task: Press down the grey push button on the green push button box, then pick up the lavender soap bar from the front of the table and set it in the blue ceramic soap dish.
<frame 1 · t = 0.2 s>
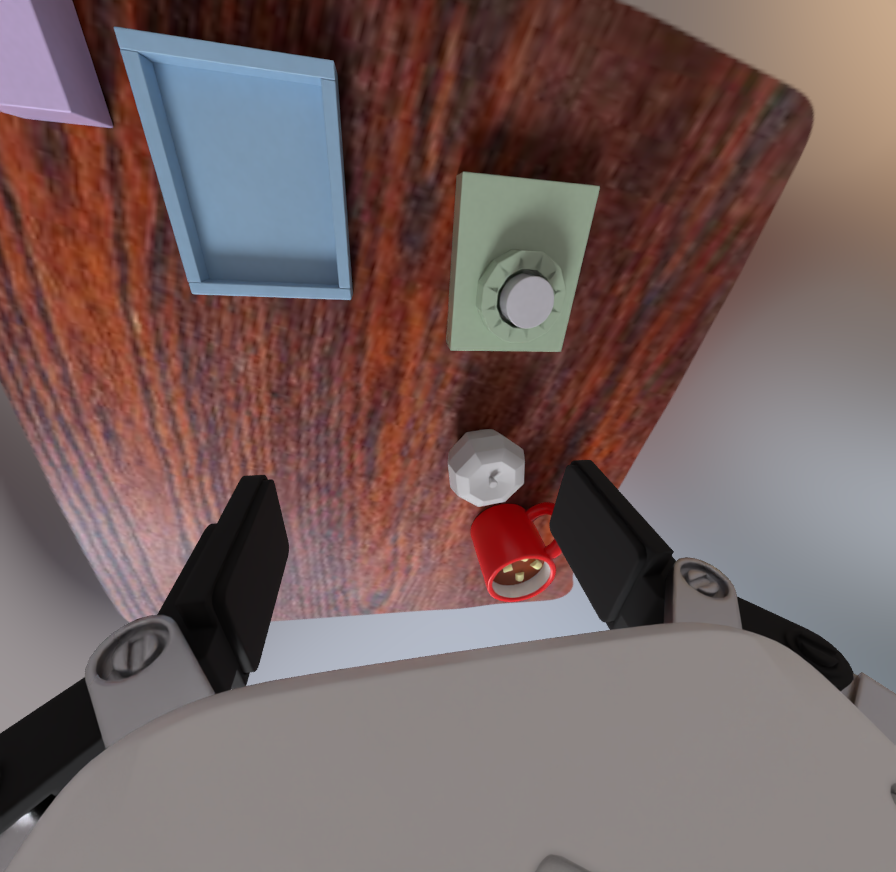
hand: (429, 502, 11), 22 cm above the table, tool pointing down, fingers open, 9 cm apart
mug: (512, 516, 44), on the table
green push button box: (510, 271, 29), on the table
soap bar: (37, 36, 18), on the table
soap dish: (264, 192, 23), on the table
apple: (475, 444, 37), on the table
grey push button: (526, 301, 26), point 4 cm above the table, slide at 0.1 cm
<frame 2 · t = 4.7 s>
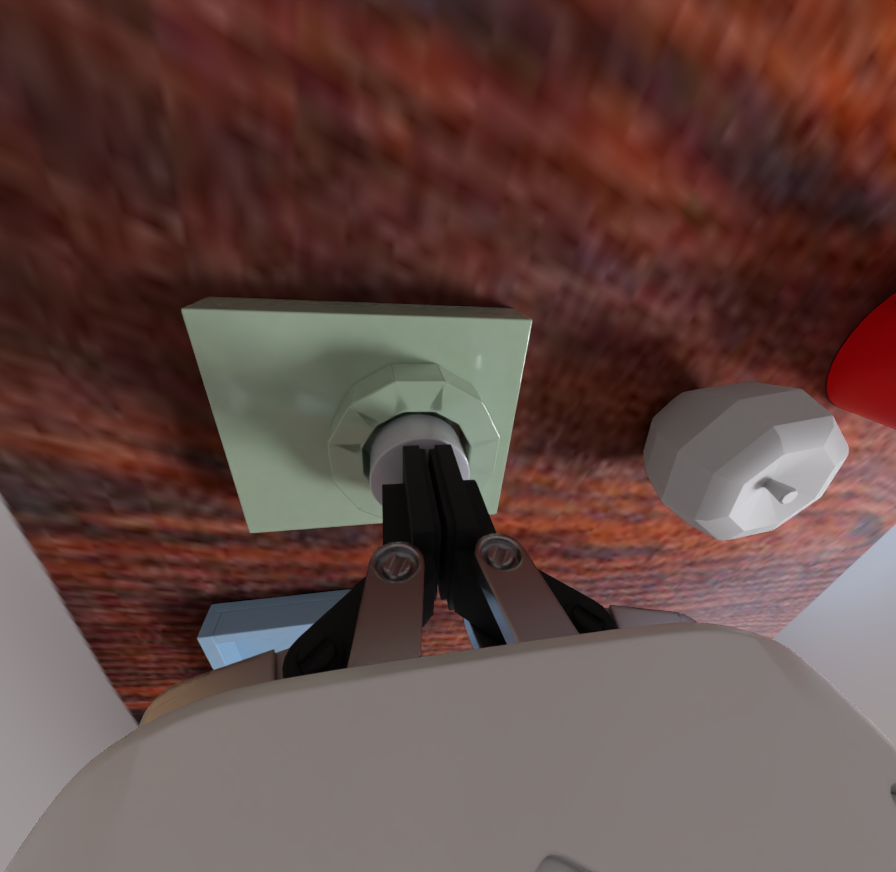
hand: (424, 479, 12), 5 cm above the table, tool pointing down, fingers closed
mug: (887, 321, 19), on the table
green push button box: (377, 413, 17), on the table
soap dish: (329, 638, 25), on the table
apple: (674, 421, 20), on the table
grey push button: (418, 466, 13), point 4 cm above the table, slide at 0.1 cm, touching gripper
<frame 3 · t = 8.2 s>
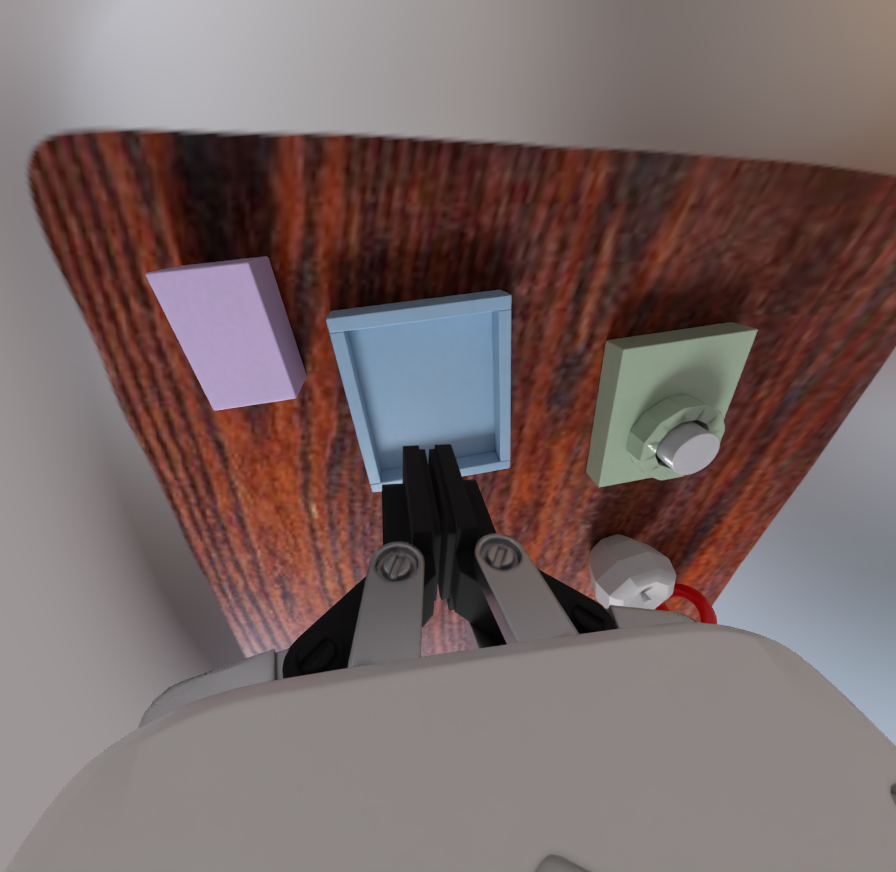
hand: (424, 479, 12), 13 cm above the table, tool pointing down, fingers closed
mug: (638, 595, 44), on the table
green push button box: (651, 404, 29), on the table
soap bar: (250, 326, 21), on the table
soap dish: (429, 393, 25), on the table
apple: (607, 545, 38), on the table
grey push button: (687, 448, 26), point 4 cm above the table, slide at 0.1 cm
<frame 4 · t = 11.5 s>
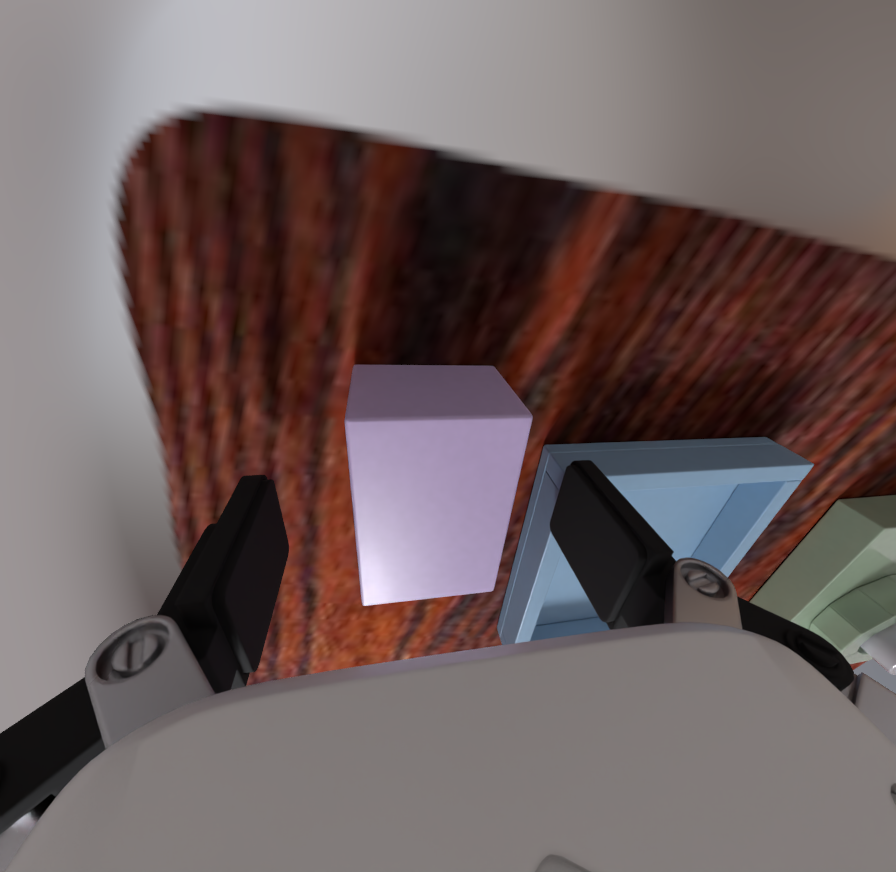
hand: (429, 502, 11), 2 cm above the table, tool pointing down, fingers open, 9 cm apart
green push button box: (837, 562, 23), on the table
soap bar: (422, 455, 13), on the table
soap dish: (613, 544, 18), on the table
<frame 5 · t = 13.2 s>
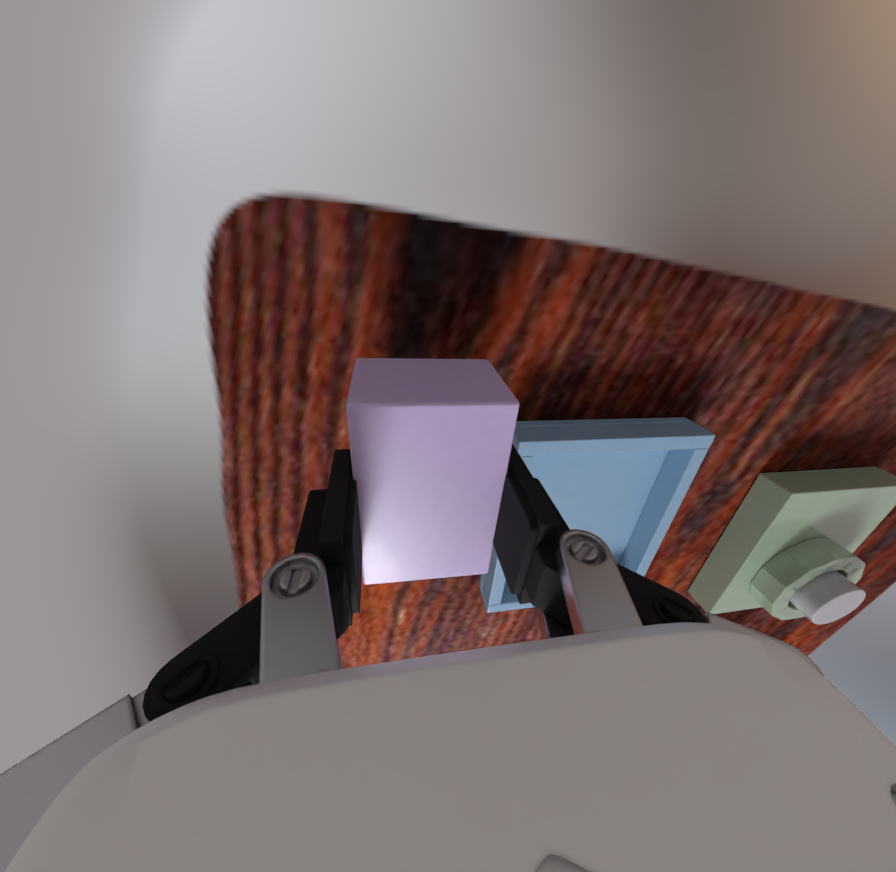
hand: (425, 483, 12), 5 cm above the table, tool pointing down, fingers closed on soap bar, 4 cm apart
green push button box: (773, 533, 27), on the table
soap bar: (421, 444, 14), point 3 cm above the table, touching gripper
soap dish: (571, 509, 22), on the table
grey push button: (825, 596, 24), point 4 cm above the table, slide at 0.1 cm
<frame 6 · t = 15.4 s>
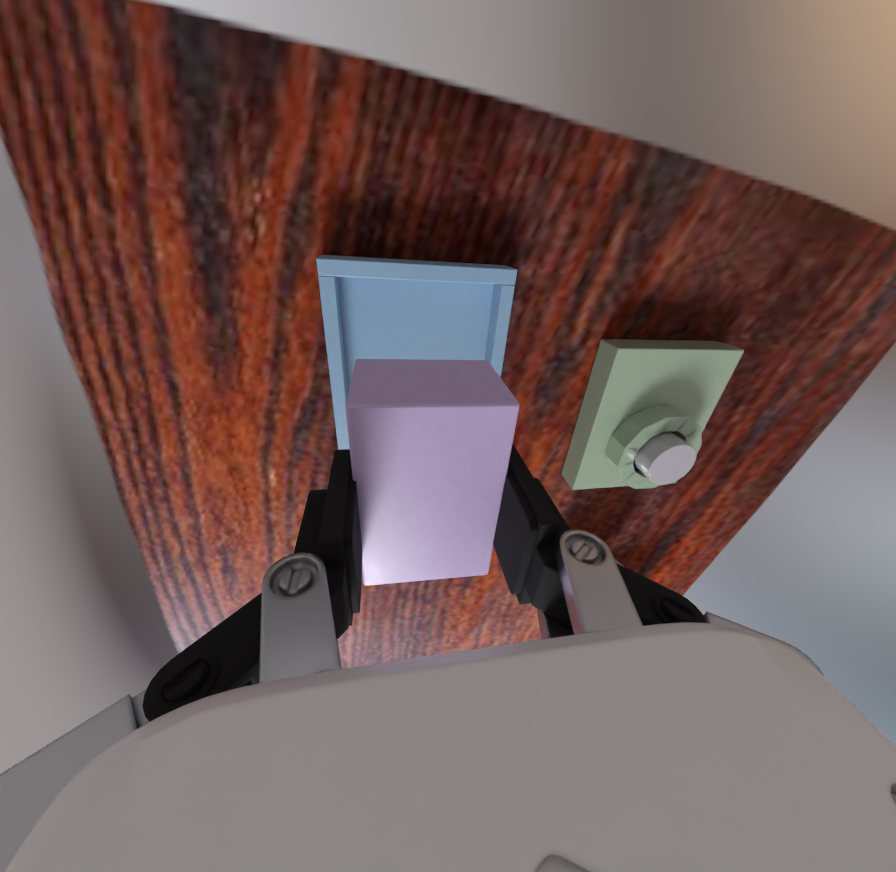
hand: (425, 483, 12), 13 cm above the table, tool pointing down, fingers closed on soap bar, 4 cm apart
green push button box: (634, 412, 29), on the table
soap bar: (421, 445, 14), point 11 cm above the table, touching gripper
soap dish: (416, 365, 23), on the table
grey push button: (664, 458, 26), point 4 cm above the table, slide at 0.1 cm
when the fingers open (3 cm above the table, at t = 18.0 s): soap bar stays where it is, resting on soap dish.
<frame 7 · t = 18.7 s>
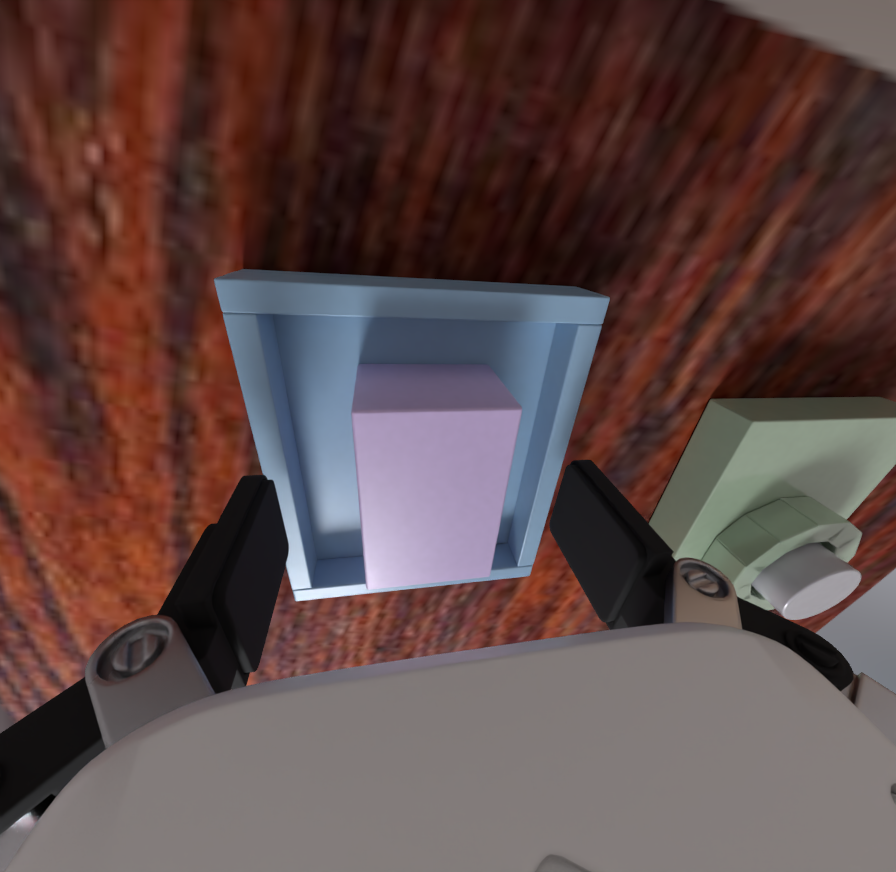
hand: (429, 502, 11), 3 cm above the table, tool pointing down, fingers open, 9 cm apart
green push button box: (736, 494, 20), on the table
soap bar: (422, 449, 14), point 1 cm above the table, touching soap dish
soap dish: (418, 445, 14), on the table
grey push button: (802, 580, 17), point 4 cm above the table, slide at 0.1 cm
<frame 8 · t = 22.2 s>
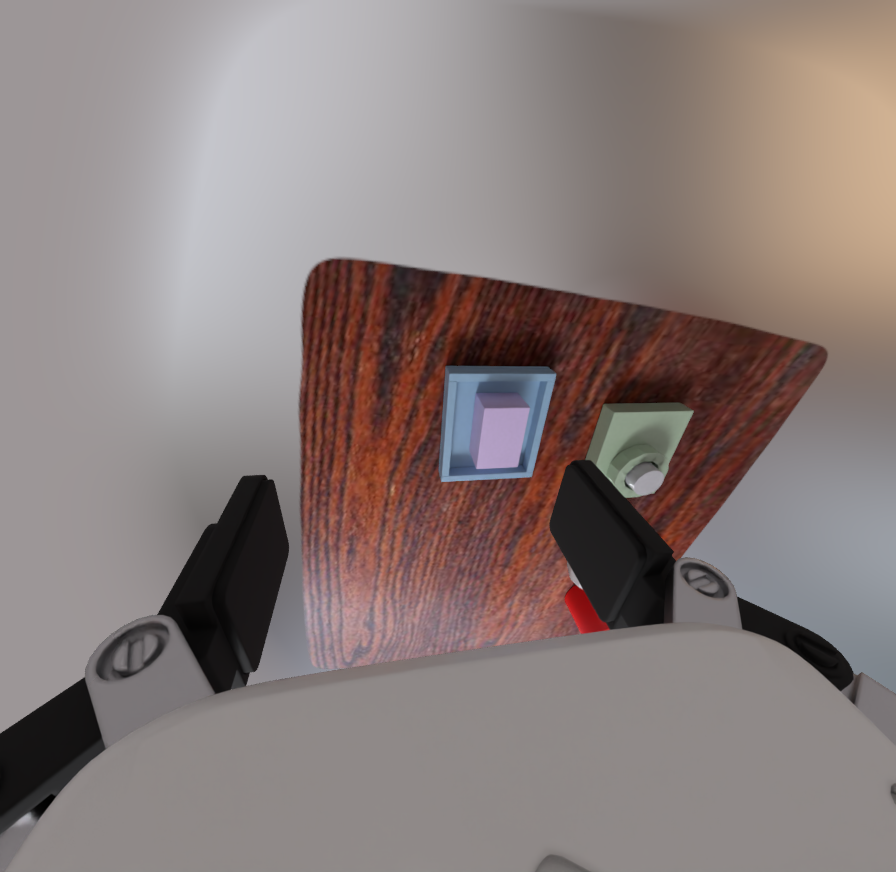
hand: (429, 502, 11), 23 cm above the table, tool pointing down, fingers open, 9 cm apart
mug: (596, 585, 58), on the table
green push button box: (625, 446, 43), on the table
soap bar: (492, 422, 37), point 1 cm above the table, touching soap dish
soap dish: (489, 421, 38), on the table
grey push button: (644, 478, 40), point 4 cm above the table, slide at 0.1 cm
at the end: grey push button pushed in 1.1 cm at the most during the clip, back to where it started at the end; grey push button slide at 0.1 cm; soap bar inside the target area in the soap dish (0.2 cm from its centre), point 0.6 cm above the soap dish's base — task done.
